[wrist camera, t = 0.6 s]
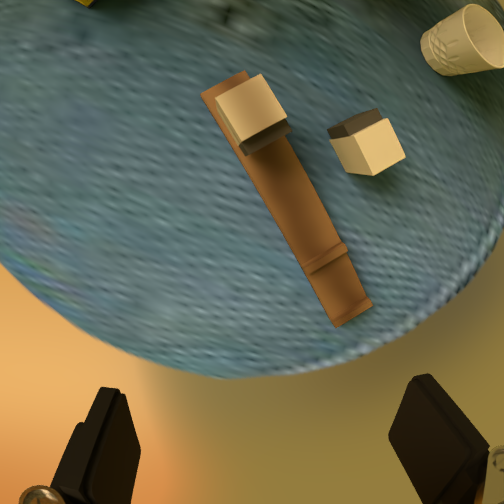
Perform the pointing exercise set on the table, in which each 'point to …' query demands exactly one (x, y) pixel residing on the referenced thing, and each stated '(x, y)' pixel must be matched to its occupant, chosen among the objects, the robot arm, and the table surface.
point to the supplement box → (86, 2)
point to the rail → (287, 190)
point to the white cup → (464, 42)
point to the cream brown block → (366, 143)
